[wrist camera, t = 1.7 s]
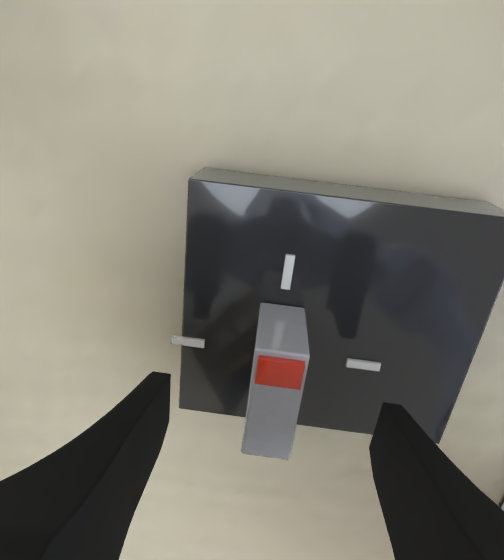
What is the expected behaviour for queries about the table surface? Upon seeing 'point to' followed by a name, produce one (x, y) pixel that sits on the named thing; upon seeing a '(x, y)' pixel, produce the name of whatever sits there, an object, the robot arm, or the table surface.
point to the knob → (276, 381)
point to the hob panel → (337, 293)
